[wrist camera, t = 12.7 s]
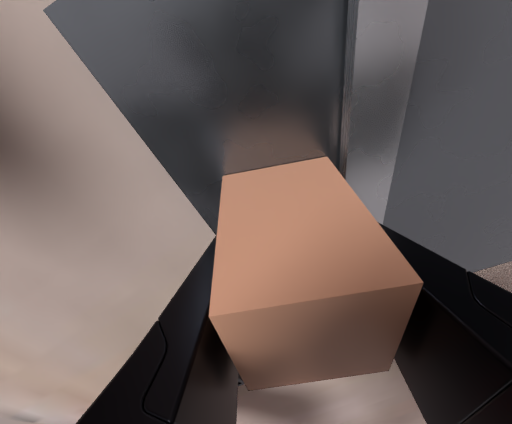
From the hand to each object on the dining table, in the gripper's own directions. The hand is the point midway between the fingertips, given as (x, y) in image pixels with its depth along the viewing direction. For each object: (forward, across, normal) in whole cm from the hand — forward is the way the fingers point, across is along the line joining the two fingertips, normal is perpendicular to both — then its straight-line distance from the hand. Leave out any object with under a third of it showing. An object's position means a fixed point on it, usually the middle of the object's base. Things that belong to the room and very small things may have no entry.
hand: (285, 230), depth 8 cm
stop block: (+1, 0, 0) cm, 1 cm away
